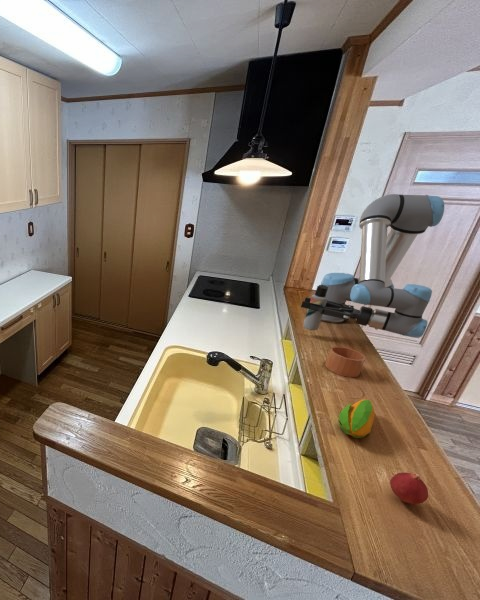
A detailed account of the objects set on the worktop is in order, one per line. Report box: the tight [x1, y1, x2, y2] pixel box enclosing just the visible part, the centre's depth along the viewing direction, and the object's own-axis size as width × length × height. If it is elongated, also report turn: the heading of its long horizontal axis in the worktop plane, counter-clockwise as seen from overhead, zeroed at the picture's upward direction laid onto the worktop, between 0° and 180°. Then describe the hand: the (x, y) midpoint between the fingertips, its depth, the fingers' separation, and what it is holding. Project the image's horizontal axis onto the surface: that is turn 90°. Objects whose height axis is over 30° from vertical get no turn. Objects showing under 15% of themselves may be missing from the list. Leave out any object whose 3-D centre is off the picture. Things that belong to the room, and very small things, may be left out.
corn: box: [338, 398, 376, 439], centre depth 93 cm, size 7×8×20 cm
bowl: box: [324, 345, 366, 378], centre depth 120 cm, size 10×10×7 cm
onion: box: [389, 472, 429, 505], centre depth 70 cm, size 6×6×8 cm
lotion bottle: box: [302, 284, 328, 331], centre depth 141 cm, size 6×6×20 cm
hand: (303, 302), depth 144 cm, fingers closed on lotion bottle, 6 cm apart
